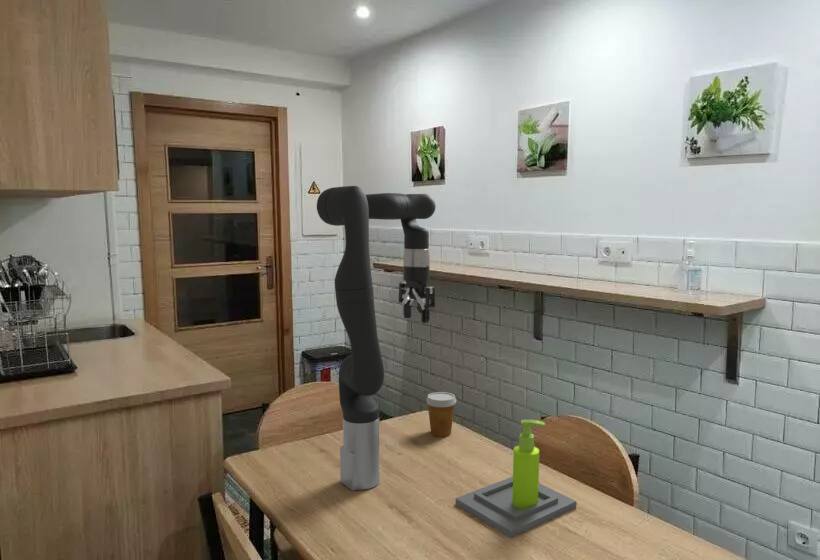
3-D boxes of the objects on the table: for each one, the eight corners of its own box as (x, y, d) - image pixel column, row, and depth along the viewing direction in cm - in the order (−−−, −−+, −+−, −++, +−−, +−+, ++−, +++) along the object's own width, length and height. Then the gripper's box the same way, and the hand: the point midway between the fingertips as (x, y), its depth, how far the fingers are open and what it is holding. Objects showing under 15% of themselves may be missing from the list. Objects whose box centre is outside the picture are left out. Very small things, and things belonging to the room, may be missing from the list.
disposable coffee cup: (460, 430, 187) (460, 393, 185) (449, 440, 178) (450, 402, 177) (432, 425, 191) (433, 390, 189) (421, 435, 182) (421, 398, 181)
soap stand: (510, 537, 125) (511, 526, 125) (455, 504, 139) (455, 494, 139) (576, 507, 138) (576, 497, 138) (519, 479, 152) (519, 470, 152)
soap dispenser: (543, 511, 133) (545, 426, 131) (512, 508, 134) (514, 424, 132) (542, 498, 139) (544, 417, 137) (512, 496, 140) (514, 415, 138)
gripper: (391, 263, 171) (391, 318, 172) (421, 266, 159) (420, 325, 161) (412, 262, 175) (411, 315, 177) (442, 265, 164) (441, 322, 166)
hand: (416, 320), depth 169 cm, fingers open, 8 cm apart
